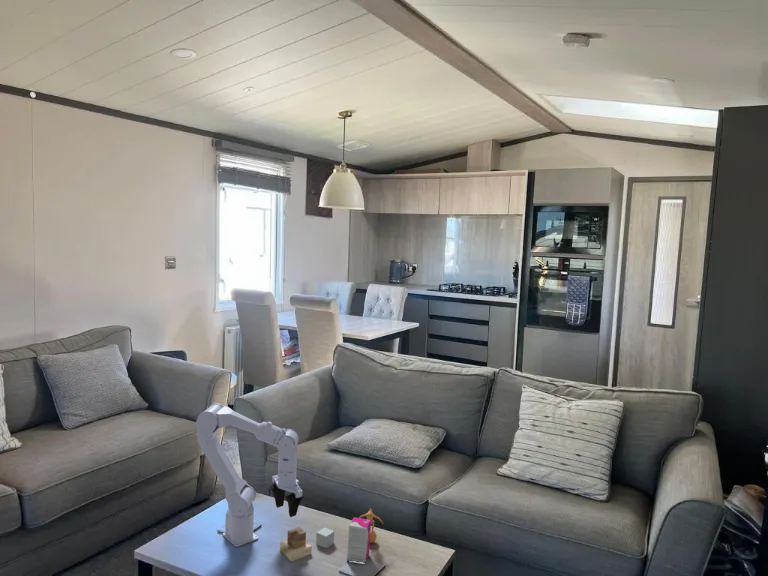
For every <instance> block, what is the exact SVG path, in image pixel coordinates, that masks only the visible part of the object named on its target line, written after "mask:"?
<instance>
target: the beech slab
mask: <svg viewBox="0 0 768 576" xmlns="http://www.w3.org/2000/svg"><path fill="white" fill-rule="evenodd" d="M312 550H313V549H312V545H311V544H310V542H308V541H307V540H306V545H303V546H301V547H298V548H296V549H294V548H292V547H291V546H290V545H289V544H287V540H285V541H281V542H280V543H279V552H280V553H282V555H284V557H286V558H287V559H288V560H289V561H290V562H294V561H297V560H299V559H301V558H304V557H306V556H309V555H312Z"/></svg>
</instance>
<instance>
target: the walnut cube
mask: <svg viewBox="0 0 768 576" xmlns="http://www.w3.org/2000/svg"><path fill="white" fill-rule="evenodd" d="M306 539H307V531H305V530H304V529H302V528H301V527H300V526H298V527H294V528H292V529H289V530H287V540H286V541H287V544H289V545H290V546H291V547H292V548H294V549H296V548H298V547H301V546H303V545H306V541H307V540H306Z"/></svg>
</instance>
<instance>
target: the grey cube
mask: <svg viewBox="0 0 768 576" xmlns="http://www.w3.org/2000/svg"><path fill="white" fill-rule="evenodd" d="M315 533H316V536H315V537H316V538H315V539H316V541H315V545H317V546H319V547H322V548H324V549H327V548H329V547H330V546H332V545H333V544H334V543H335V531H334V530H332V529H330V528H327V527H323V528H321V529H320V530H318V531H316V532H315Z"/></svg>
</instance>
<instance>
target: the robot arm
mask: <svg viewBox="0 0 768 576" xmlns="http://www.w3.org/2000/svg"><path fill="white" fill-rule="evenodd" d="M194 425H195V427H196V440H197V443H198V445H199V447H200V448H201V450H202V452H203V454H204V455H205V457H206V459H207V460H208V463H209V464H210V465H211V467H212V469H213V471H214V472H215V474H216V476H217V478H218V479H219V481H220V483H221V484H222V486H223V488H224V489H225V500H226V502H227V507H228V509H227V510H226V514H225V528H224V529H225V531H224V532H223V533H222V536H223V537H224V538H226V540H227V541H228V542H229V543H231V544H232V545H233V546H234V547H237V548H238V547H241V546H243V545H247V544H248V543H251V542H253V541H256V540H259V536H258V535H257V534H255V533H254V519H255V518H254V516H255V514H254V512H255V509H254V506H253V502H254V501H255V500H256V497H257V494H256V493H257V492H256V489H254V488H253V487H252V486H251V485H249V484H248V482H247V481H246V480H245V479H243V478H241V477H240V476H239V474H238V472H237V471H236V469H235V467H234V465H233V464H232V462H231V460H230V459H229V456H228V454H227V453H226V452H225V450H224V448H223V445H222V444H221V443H220V441H219V439H218V438H217V435H218V432H219V429H222V428H225V427H228V426H232V427H235V428H237V429H239V430H240V429H241V430H243V431H245V432H248V433H252V434H254V436H255V438H256V439H257V440H259V441H261V442H263V443H266V444H268V445H271V446H273V447H276V449H277V451H278V458H277V459H278V461H277V463H278V464H277V474H275V475H272V476H271V477H272V478H271V482H272V483H273V484H271V485H270V486H269V488H270V490H271V492H272V494H273V497H274V502H275V507H276V508H281V507H283V506H284V504H285V500H286V502H287V505H288V514H289V517H290V518H293V517H295V516H297V514H298V510H299V507H300V504H301V502H302V500H303V498H304V497H305V494H304V493H303V490H302V488H301V487H300V486H299V483H300V480H299V479H297V469H298V468H297V464H298V463H297V461H298V454H297V453H298V452H297V445H298V443H299V440H300V439H299V438H300V436H299V435H298V433H297V432H296V431H295V430H294V429H292V428H287V429H286V428H285V427H283V428H282V427H279V426H278V425H277V426H276V425H274V424H273V422H272V421H262V422H260V423H259V422H257V421H256V420H253V419H251V418H249V417H247V416H245V415H244V414H241V413H239V412H237V411H234V409H232V408H230V407H229V406H226V405H223V404H221V403H218V402H217V403H216V402H215V403H211V405H209V406H208V408H207V409H204V411H202V412H201V413H200V414H199V415H198V417H197V418H196V421H195V423H194ZM286 492H289V493H290V494H289V495H286V496H285V494H286Z"/></svg>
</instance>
